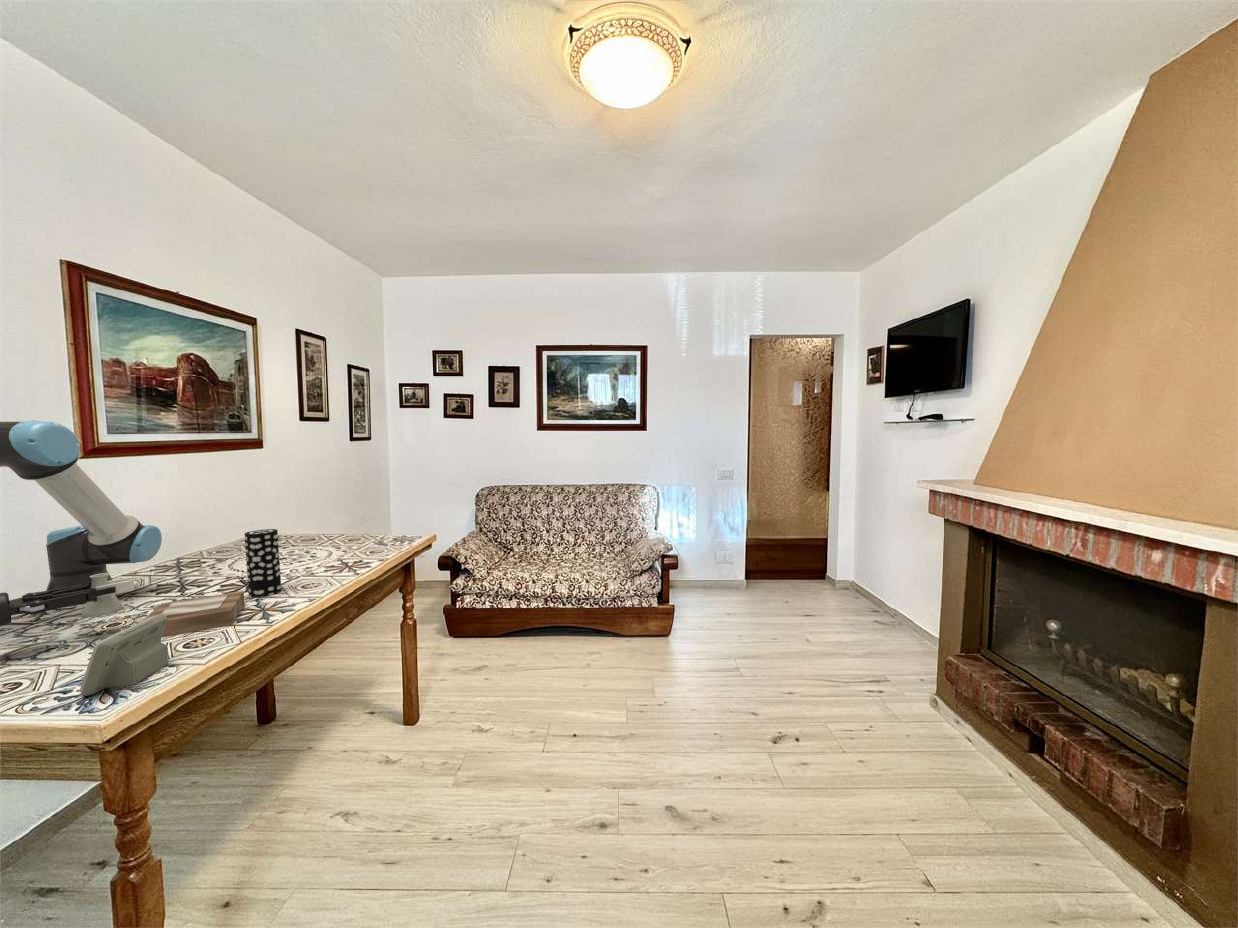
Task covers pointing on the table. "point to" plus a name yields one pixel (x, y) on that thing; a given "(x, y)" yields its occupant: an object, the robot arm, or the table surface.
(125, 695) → the table surface
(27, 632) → the table surface
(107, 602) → the flask
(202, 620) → the walnut plinth
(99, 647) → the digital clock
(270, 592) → the white-spotted black cylinder
